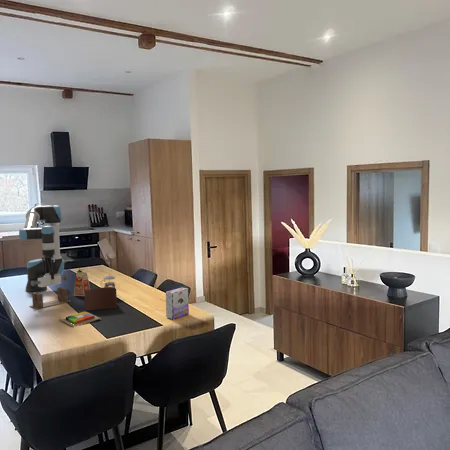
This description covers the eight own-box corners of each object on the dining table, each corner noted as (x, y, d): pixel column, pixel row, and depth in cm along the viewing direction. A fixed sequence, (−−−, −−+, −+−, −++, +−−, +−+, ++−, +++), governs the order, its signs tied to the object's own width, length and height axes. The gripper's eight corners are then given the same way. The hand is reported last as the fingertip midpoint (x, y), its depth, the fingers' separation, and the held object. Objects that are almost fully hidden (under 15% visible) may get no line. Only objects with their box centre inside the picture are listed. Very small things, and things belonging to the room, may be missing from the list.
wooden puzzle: (58, 321, 253) (58, 315, 253) (88, 314, 266) (88, 309, 266) (71, 328, 240) (71, 322, 240) (102, 320, 253) (102, 315, 253)
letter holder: (117, 308, 279) (116, 286, 277) (85, 310, 273) (84, 289, 271) (115, 304, 288) (115, 283, 287) (85, 306, 282) (84, 285, 281)
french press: (113, 298, 301) (112, 263, 299) (98, 297, 304) (96, 263, 301) (119, 295, 311) (118, 261, 309) (104, 294, 313) (103, 260, 311)
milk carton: (84, 296, 309) (83, 268, 307) (73, 295, 310) (71, 268, 309) (91, 293, 317) (90, 266, 316) (79, 292, 319) (78, 266, 318)
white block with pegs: (30, 287, 279) (30, 278, 278) (64, 281, 298) (63, 272, 297) (34, 288, 276) (33, 279, 276) (67, 282, 295) (67, 273, 294)
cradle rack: (29, 306, 282) (29, 293, 281) (63, 299, 301) (62, 286, 300) (37, 309, 276) (36, 295, 275) (70, 301, 295) (70, 288, 294)
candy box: (182, 312, 266) (181, 286, 265) (189, 314, 262) (188, 288, 261) (165, 318, 256) (165, 291, 254) (172, 320, 252) (172, 292, 250)
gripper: (36, 248, 287) (37, 282, 290) (50, 250, 277) (51, 286, 279) (46, 247, 293) (48, 280, 295) (60, 249, 282) (62, 284, 285)
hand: (50, 283), depth 287 cm, fingers closed on white block with pegs, 5 cm apart
